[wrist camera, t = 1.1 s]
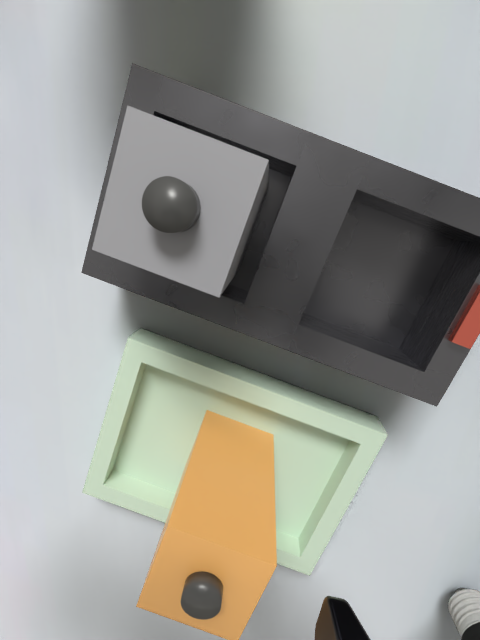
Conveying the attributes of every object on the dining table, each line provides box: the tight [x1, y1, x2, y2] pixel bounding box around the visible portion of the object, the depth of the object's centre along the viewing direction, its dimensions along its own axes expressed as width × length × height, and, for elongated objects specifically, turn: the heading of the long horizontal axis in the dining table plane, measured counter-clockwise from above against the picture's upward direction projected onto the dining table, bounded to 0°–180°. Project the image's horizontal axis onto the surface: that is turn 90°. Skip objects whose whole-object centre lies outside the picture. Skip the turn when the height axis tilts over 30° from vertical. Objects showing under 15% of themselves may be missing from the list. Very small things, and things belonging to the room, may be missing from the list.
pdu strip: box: [82, 63, 480, 406], centre depth 16 cm, size 16×8×4 cm, turn 70°
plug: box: [136, 410, 277, 640], centre depth 16 cm, size 4×4×9 cm
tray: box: [82, 328, 388, 576], centre depth 20 cm, size 14×10×2 cm
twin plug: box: [92, 105, 269, 297], centre depth 13 cm, size 4×4×8 cm
